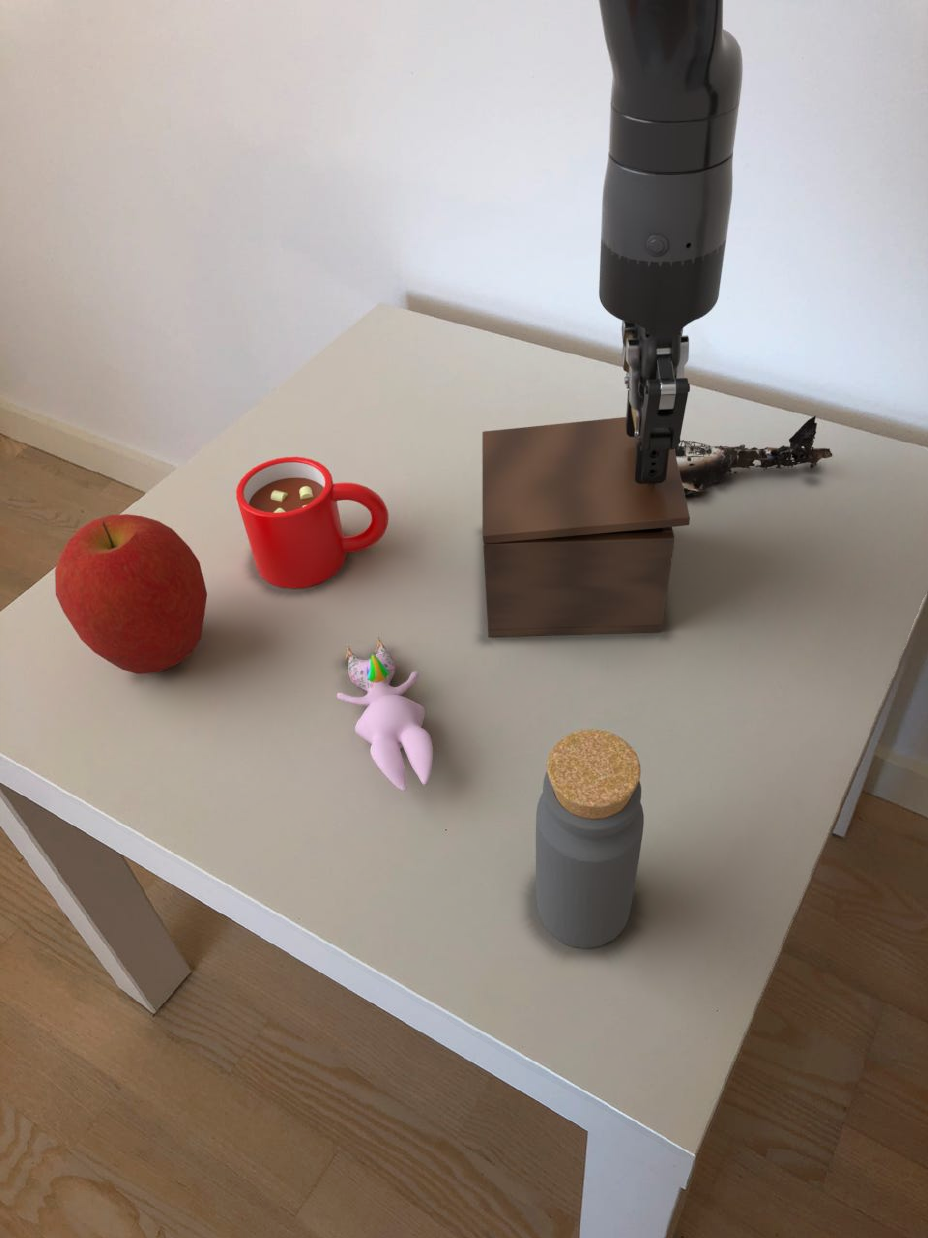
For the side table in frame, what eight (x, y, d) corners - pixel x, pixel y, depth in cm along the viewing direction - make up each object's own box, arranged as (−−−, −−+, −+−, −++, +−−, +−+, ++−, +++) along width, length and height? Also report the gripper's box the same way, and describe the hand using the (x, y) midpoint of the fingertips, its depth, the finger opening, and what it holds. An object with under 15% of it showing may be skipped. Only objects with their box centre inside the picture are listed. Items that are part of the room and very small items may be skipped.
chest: (642, 526, 83) (653, 433, 76) (661, 632, 74) (675, 538, 67) (487, 531, 83) (483, 439, 76) (488, 637, 75) (483, 544, 68)
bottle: (606, 850, 61) (621, 707, 50) (646, 931, 57) (672, 795, 46) (522, 878, 60) (518, 738, 49) (557, 963, 56) (562, 831, 45)
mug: (395, 578, 80) (384, 505, 74) (253, 592, 80) (231, 521, 74) (391, 518, 85) (381, 446, 80) (258, 531, 85) (238, 460, 79)
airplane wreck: (839, 486, 85) (854, 434, 81) (634, 503, 85) (639, 453, 81) (818, 447, 89) (831, 397, 85) (622, 464, 89) (626, 414, 85)
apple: (246, 620, 77) (203, 486, 67) (186, 714, 71) (129, 582, 61) (137, 597, 80) (79, 465, 70) (69, 686, 73) (-5, 555, 63)
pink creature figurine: (330, 681, 74) (373, 818, 62) (315, 621, 71) (357, 755, 59) (407, 659, 75) (463, 790, 64) (395, 599, 72) (453, 727, 60)
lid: (665, 420, 75) (667, 364, 71) (689, 525, 66) (692, 467, 62) (483, 439, 76) (475, 384, 72) (483, 544, 68) (474, 488, 64)
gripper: (749, 281, 52) (712, 517, 64) (707, 176, 62) (682, 398, 74) (612, 289, 52) (601, 522, 65) (592, 184, 62) (586, 403, 75)
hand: (644, 455), depth 69 cm, fingers closed on lid, 5 cm apart
